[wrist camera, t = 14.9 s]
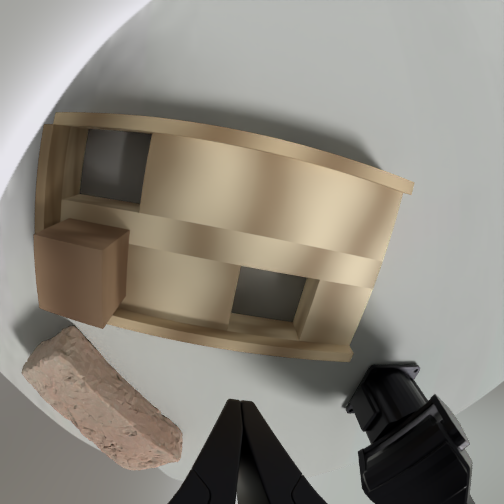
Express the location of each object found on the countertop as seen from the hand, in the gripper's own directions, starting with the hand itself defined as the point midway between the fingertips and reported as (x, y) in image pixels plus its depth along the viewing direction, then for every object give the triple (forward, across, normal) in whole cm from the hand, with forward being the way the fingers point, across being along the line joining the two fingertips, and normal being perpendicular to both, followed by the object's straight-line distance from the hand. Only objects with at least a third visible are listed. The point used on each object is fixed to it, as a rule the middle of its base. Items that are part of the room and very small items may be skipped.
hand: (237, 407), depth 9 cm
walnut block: (+10, +9, 0) cm, 13 cm away
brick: (+12, +10, +16) cm, 23 cm away
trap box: (+12, +2, -2) cm, 12 cm away
